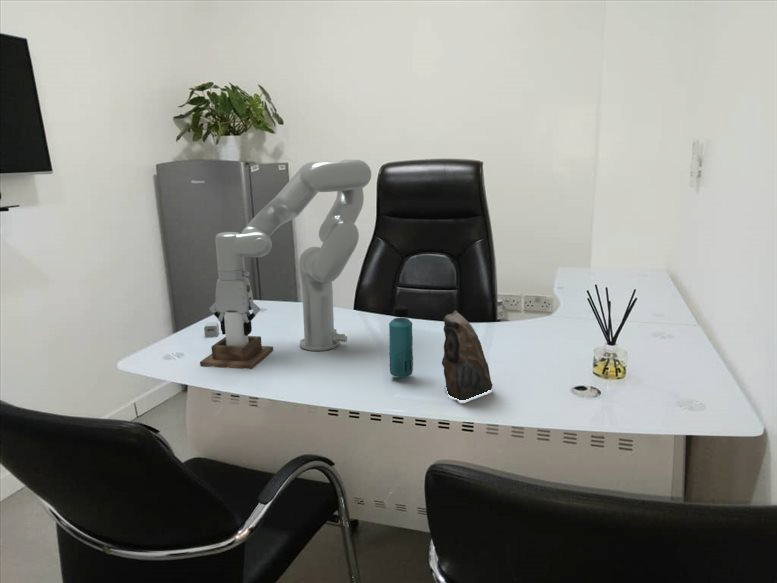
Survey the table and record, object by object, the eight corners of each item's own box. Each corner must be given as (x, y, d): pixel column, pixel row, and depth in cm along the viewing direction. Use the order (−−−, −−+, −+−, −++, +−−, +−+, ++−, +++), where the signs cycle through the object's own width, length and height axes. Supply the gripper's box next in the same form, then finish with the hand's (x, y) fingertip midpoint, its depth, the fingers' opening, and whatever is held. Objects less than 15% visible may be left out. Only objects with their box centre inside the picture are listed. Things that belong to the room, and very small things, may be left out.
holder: (273, 350, 170) (272, 334, 169) (252, 369, 155) (250, 351, 154) (225, 347, 173) (224, 332, 172) (200, 365, 158) (198, 348, 156)
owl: (460, 406, 130) (462, 327, 125) (424, 390, 140) (425, 315, 135) (495, 392, 138) (498, 317, 133) (458, 377, 147) (460, 306, 143)
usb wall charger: (205, 337, 183) (204, 326, 182) (208, 331, 190) (207, 320, 189) (217, 336, 184) (216, 325, 183) (220, 330, 190) (219, 319, 189)
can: (245, 351, 160) (242, 312, 157) (223, 351, 160) (220, 312, 157) (251, 344, 166) (248, 306, 163) (230, 344, 166) (227, 306, 164)
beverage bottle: (405, 384, 143) (405, 311, 139) (384, 379, 147) (383, 308, 142) (417, 376, 149) (417, 305, 144) (396, 371, 152) (396, 302, 147)
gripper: (265, 273, 160) (268, 331, 164) (210, 271, 163) (215, 328, 167) (254, 278, 153) (259, 339, 157) (197, 276, 156) (203, 336, 160)
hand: (236, 333), depth 162 cm, fingers closed on can, 6 cm apart
